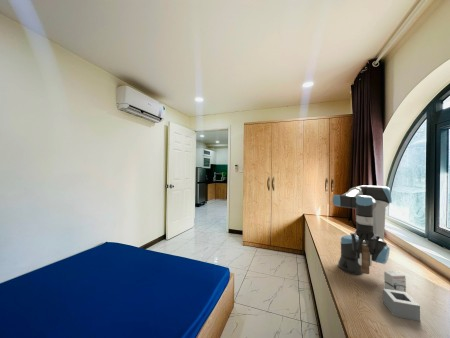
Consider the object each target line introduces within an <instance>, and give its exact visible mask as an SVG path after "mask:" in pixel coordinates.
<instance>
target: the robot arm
mask: <svg viewBox="0 0 450 338" xmlns="http://www.w3.org/2000/svg"><path fill="white" fill-rule="evenodd" d="M392 203H393V202H392V195H391V189H390V187H388V186H382V185H366V184H365V185H364V184H363V185H358V186H354V187H351V188H349V189H348V191H346V192H345V193H343V194H334V195H333V197H332V205H333V206H335V207H340V208H347V209H354V210H355V212H356V214H355V216H356V217H355V218H356V219H355V221H356V223H355V224H356V225H355V226H356V227H355V228H356V231H355V232H350V234H349V235H343V236H341V238H340V257H339V260H338V262H337V263H338V265H337V266H338V268H339V269H340V270H342V271H344V272H345V273H348V274H354V275H362V274H364V273H362V272H361V270H360V265H362V254H361V253H360V251H361V246H362V244H366V245H368V246H369V268H370V267H373V263H372V262H374V263H377V264H382V265H385V264H387V263H388V260H389V257H390V249H391V248H390V246H388V244H387V242H386V241H385V227H386V211H387V210H386V207H389V204H392Z"/></svg>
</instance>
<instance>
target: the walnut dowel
mask: <svg viewBox="0 0 450 338" xmlns="http://www.w3.org/2000/svg"><path fill="white" fill-rule="evenodd" d="M360 253H361V254H362V265H360V270H361V272H362V273H363V274H364V275H370V266H369V246H368V245H366V244H362V246H361V251H360Z"/></svg>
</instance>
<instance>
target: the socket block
mask: <svg viewBox="0 0 450 338" xmlns="http://www.w3.org/2000/svg"><path fill="white" fill-rule="evenodd" d="M382 302H383V304H384V305H385V306H386V307H387V309H388V310H389V311H390V313H391V314H392V315H393V316H394V317H396V318H402V319H407V320H413V321H417V322H421V306H420V304H419V303H418V302H417V301H416V300H415V299H414V298H413V297H412V296H411V295H410V294H409V293H407V291H406V292H402V291H396V290H390V289H385V287H384V288H383V289H382Z"/></svg>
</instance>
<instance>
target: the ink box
mask: <svg viewBox="0 0 450 338" xmlns="http://www.w3.org/2000/svg"><path fill="white" fill-rule="evenodd" d="M383 274H384V275H383V277H384V278H383V279H384V289H390V290H396V291H402V292H407V286H406V285H407V284H406V282H407V280H406V275H405V274H403V273H401V272H400V271H399V270H398V271H397V270H386V271H384V272H383Z"/></svg>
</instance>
